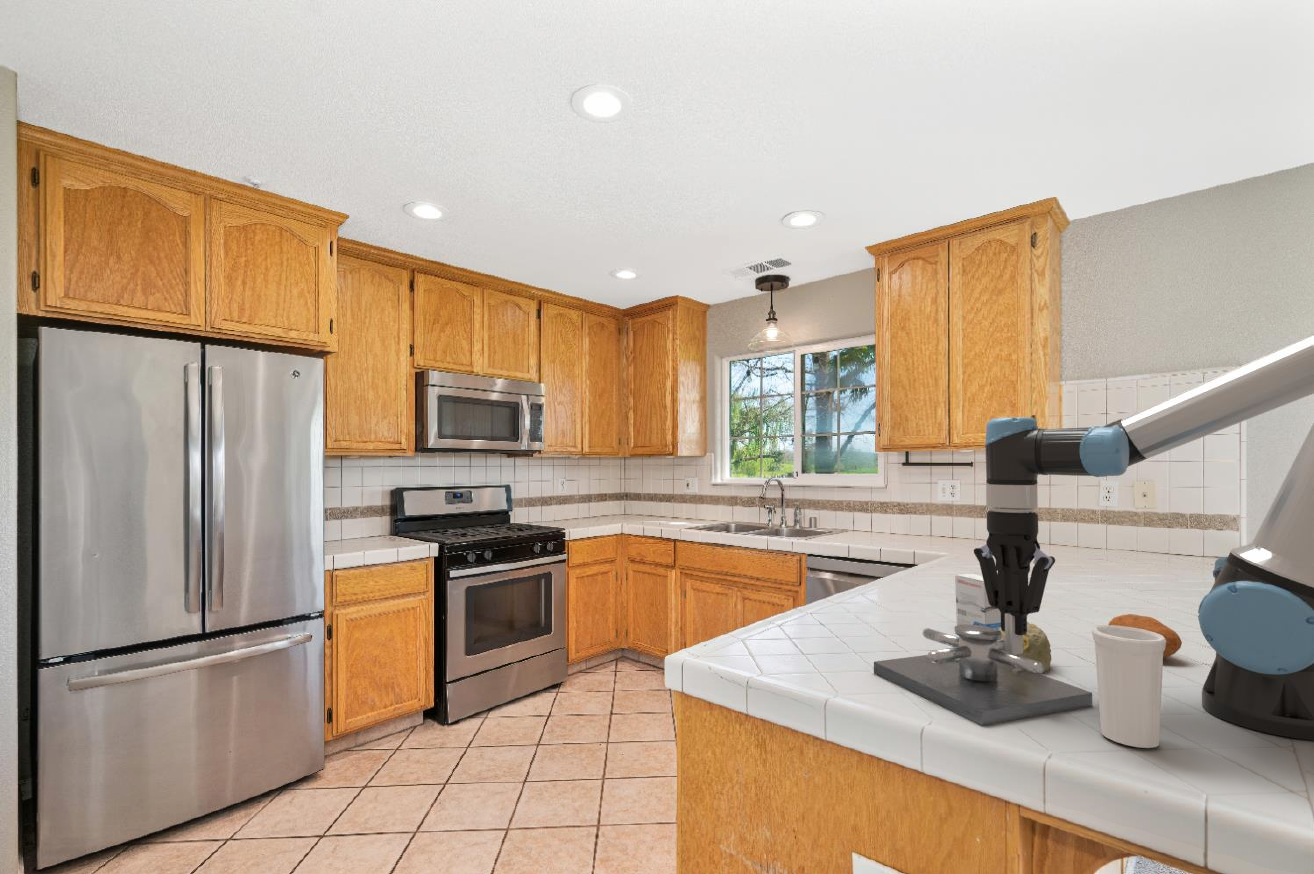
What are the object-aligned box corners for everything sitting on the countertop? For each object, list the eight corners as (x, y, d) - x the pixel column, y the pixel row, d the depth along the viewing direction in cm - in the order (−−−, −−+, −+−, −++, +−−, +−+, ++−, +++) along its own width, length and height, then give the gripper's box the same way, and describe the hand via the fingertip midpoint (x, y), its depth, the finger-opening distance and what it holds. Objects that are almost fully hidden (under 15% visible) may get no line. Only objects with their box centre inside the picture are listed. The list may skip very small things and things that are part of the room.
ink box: (1003, 635, 136) (1003, 580, 136) (984, 637, 134) (984, 581, 134) (972, 625, 144) (972, 573, 144) (954, 626, 142) (954, 574, 143)
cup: (1078, 728, 89) (1077, 625, 89) (1133, 726, 90) (1131, 624, 90) (1125, 755, 81) (1123, 641, 81) (1184, 753, 81) (1182, 641, 82)
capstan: (1091, 686, 99) (1090, 639, 99) (993, 710, 89) (992, 657, 89) (969, 648, 118) (969, 608, 119) (878, 664, 109) (877, 621, 109)
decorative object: (1044, 695, 111) (1076, 648, 111) (992, 659, 113) (1023, 613, 113) (1021, 682, 120) (1050, 638, 120) (973, 649, 122) (1002, 606, 122)
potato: (1133, 646, 129) (1133, 608, 129) (1194, 663, 118) (1193, 622, 118) (1098, 649, 126) (1098, 611, 126) (1157, 667, 115) (1156, 626, 115)
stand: (1092, 705, 97) (1092, 690, 97) (982, 725, 89) (982, 709, 90) (968, 659, 119) (968, 647, 119) (872, 672, 111) (872, 659, 111)
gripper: (1064, 512, 102) (1067, 660, 101) (990, 506, 114) (992, 640, 113) (1036, 513, 99) (1038, 667, 98) (962, 508, 110) (964, 646, 109)
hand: (1014, 653), depth 105 cm, fingers closed
